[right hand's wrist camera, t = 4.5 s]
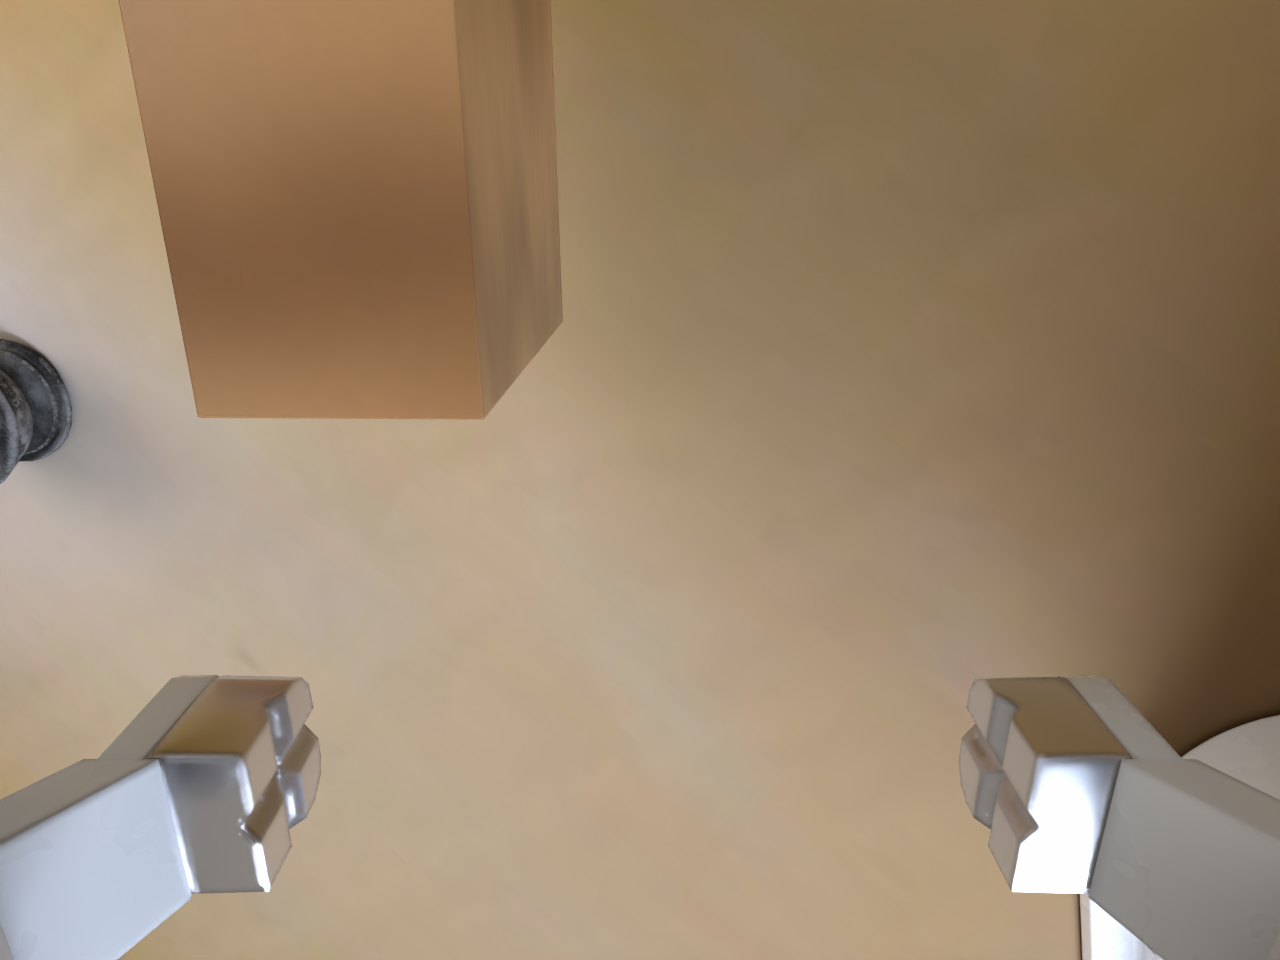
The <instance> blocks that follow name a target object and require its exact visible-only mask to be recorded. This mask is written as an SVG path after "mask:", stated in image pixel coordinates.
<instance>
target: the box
mask: <svg viewBox="0 0 1280 960" xmlns="http://www.w3.org/2000/svg"><path fill="white" fill-rule="evenodd" d="M119 4H120V10H121V15H122V20H123V25H124V31H125V36H126V41H127V46H128V52H129V57H130V62H131V67H132V73H133V78H134V83H135V88H136V94H137V99H138V104H139V109H140V115H141V120H142V125H143V130H144V136H145V141H146V146H147V151H148V157H149V162H150V167H151V173H152V178H153V183H154V188H155V194H156V199H157V204H158V209H159V215H160V220H161V225H162V230H163V236H164V241H165V246H166V251H167V257H168V262H169V267H170V272H171V278H172V283H173V288H174V293H175V299H176V304H177V309H178V314H179V320H180V325H181V330H182V335H183V341H184V346H185V351H186V356H187V362H188V367H189V372H190V377H191V383H192V388H193V393H194V398H195V404H196V409H197V414H198V417H200V418H319V419H484V418H485V417H486V416H487V414H488V413H489V412H490V411H491V409H492V408H493V407H494V406H495V405H496V403H497V402H498V401H499V400H500V398H501V397H502V396H503V395H504V393H505V392H506V391H507V390H508V388H509V387H510V386H511V385H512V383H513V382H514V381H515V380H516V378H517V377H518V376H519V375H520V373H521V372H522V371H523V370H524V369H525V367H526V366H527V365H528V364H529V362H530V361H531V360H532V359H533V357H534V356H535V355H536V354H537V352H538V351H539V350H540V349H541V347H542V346H543V345H544V344H545V342H546V341H547V340H548V339H549V337H550V336H551V335H552V334H553V333H554V331H555V330H556V329H557V328H558V326H559V325H560V324H561V323H562V321H563V315H562V288H561V262H560V236H559V209H558V183H557V156H556V130H555V103H554V77H553V51H552V24H551V0H119Z"/></svg>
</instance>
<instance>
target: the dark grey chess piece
mask: <svg viewBox="0 0 1280 960" xmlns="http://www.w3.org/2000/svg"><path fill="white" fill-rule="evenodd" d="M71 424H72V407H71V403H70V399H69V395H68V392H67V390H66V388H65V386H64V384H63V382H62V380H61V378H60V377H59V375H58V374H57V373H56V372H55V371H54V369H53V368H52V367H51V366H50V365H49V363H48V362H46V361H45V360H44V359H43V358H41V357H40V356H39V355H38V354H36V353H35V352H34V351H32V350H30V349H28V348H26V347H24V346H22V345H20V344H18V343H15V342H11V341H7V340H3V339H0V484H1V483H2V482H3V481H5V480H6V478H7V477H8V476H9V474H10V473H11V471H12V470H13V469H14V467H15V466H16V464H17V463H18V462H19V461H34V460H37V459H41V458H44V457H47V456H49V455H50V454H52V453H53V452H55V451H56V450H57V449H59V448H60V447H61V445H62V444H63V442H64V441H65V440H66V438H67V437H68V434H69V431H70V427H71Z"/></svg>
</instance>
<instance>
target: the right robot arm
mask: <svg viewBox="0 0 1280 960" xmlns="http://www.w3.org/2000/svg"><path fill="white" fill-rule="evenodd" d="M312 709H313V703H312V698H311V693H310V688H309V684H308V683H307V682H306V681H305V680H304V679H303V678H302V677H264V676H217V675H193V676H179V677H175V678H172V679H170V680H169V681H168V682H167V684H166V685H165V686H164V687H163V688H162V689H161V690H160V691H159V692H158V693H157V694H156V696H155V697H154V698H153V699H152V700H151V701H150V702H149V703H148V704H147V705H146V706H145V708H144V709H143V710H142V711H141V712H140V713H139V714H138V715H137V716H136V717H135V719H134V720H133V721H132V722H131V723H130V724H129V725H128V726H127V727H126V728H125V729H124V731H123V732H122V733H121V734H120V735H119V736H118V737H117V738H116V739H115V740H114V741H113V743H112V744H111V745H110V746H109V747H108V748H107V749H106V750H105V751H104V752H103V753H102V755H101V756H100V757H99V758H98V759H83V760H81V761H79V762H77V763H75V764H73V765H71V766H69V767H67V768H65V769H63V770H60V771H58V772H56V773H54V774H52V775H50V776H48V777H46V778H44V779H42V780H40V781H38V782H36V783H34V784H32V785H30V786H28V787H25V788H23V789H21V790H19V791H17V792H15V793H13V794H11V795H9V796H7V797H5V798H3V799H1V800H0V960H117V959H118V958H119V957H121V956H122V955H123V954H124V953H125V952H127V951H128V950H129V949H130V948H131V947H133V946H134V945H135V944H136V943H138V942H139V941H140V940H141V939H142V938H144V937H145V936H146V935H147V934H148V933H150V932H151V931H152V930H153V929H154V928H156V927H157V926H158V925H159V924H161V923H162V922H163V921H164V920H165V919H167V918H168V917H169V916H170V915H171V914H173V913H174V912H175V911H176V910H177V909H179V908H180V907H181V906H182V905H184V904H185V903H186V902H187V901H188V900H190V899H191V897H192V896H191V894H200V893H234V892H268V891H269V890H270V888H271V886H272V884H273V882H274V880H275V878H276V876H277V874H278V872H279V870H280V868H281V866H282V864H283V862H284V860H285V858H286V857H287V855H288V853H289V851H290V849H291V847H292V844H291V839H290V833H289V829H291V828H292V827H293V826H295V825H296V824H298V823H299V822H301V821H302V820H304V819H305V818H306V817H307V815H308V813H309V811H310V809H311V807H312V805H313V803H314V800H315V798H316V793H317V789H318V784H319V780H320V775H321V753H320V746H319V740H318V737H317V736H316V735H315V734H314V733H313V732H312V731H311V730H310V729H309V728H308V727H307V726H306V725H305V724H304V723H305V721H306V719H307V718H308V716H309V714H310V712H311V711H312ZM967 709H968V711H969V712H970V714H971V716H972V718H973V719H974V721H975V723H976V724H975V725H974V726H973V727H972V728H971V729H970V730H969V731H968V732H967V733H966V734H965V735H964V736H963V737H962V740H961V748H960V756H959V769H960V780H961V787H962V790H963V793H964V797H965V800H966V803H967V805H968V807H969V809H970V811H971V813H972V815H973V817H974V818H975V819H976V820H978V821H979V822H981V823H982V824H984V825H985V826H987V827H988V828H989V829H991V833H990V838H989V844H988V847H989V849H990V851H991V853H992V855H993V857H994V858H995V860H996V862H997V864H998V866H999V868H1000V870H1001V872H1002V874H1003V876H1004V878H1005V880H1006V882H1007V884H1008V886H1009V887H1010V889H1011V891H1012V892H1044V893H1080V911H1081V937H1082V960H1280V715H1276V716H1271V717H1267V718H1263V719H1259V720H1256V721H1252V722H1249V723H1246V724H1243V725H1240V726H1237V727H1235V728H1232V729H1230V730H1228V731H1225V732H1223V733H1221V734H1219V735H1217V736H1215V737H1213V738H1211V739H1209V740H1207V741H1205V742H1204V743H1202V744H1200V745H1199V746H1197V747H1195V748H1194V749H1192V750H1191V751H1189V752H1188V753H1186V754H1185V755H1184V756H1182V757H1180V756H1179V755H1178V754H1177V752H1176V751H1175V750H1174V749H1173V748H1172V747H1171V746H1170V745H1169V744H1168V743H1167V742H1166V740H1165V739H1164V738H1163V737H1162V736H1161V735H1160V734H1159V733H1158V732H1157V731H1156V729H1155V728H1154V727H1153V726H1152V725H1151V724H1150V723H1149V722H1148V721H1147V720H1146V719H1145V717H1144V716H1143V715H1142V714H1141V713H1140V712H1139V711H1138V710H1137V709H1136V708H1135V706H1134V705H1133V704H1132V703H1131V702H1130V701H1129V700H1128V699H1127V698H1126V697H1125V696H1124V694H1123V693H1122V692H1121V691H1120V690H1119V689H1118V688H1117V687H1116V686H1115V685H1114V684H1113V682H1112V681H1111V680H1110V679H1108V678H1105V677H1103V676H1101V675H1080V676H1058V677H1027V678H977V679H975V680H974V682H973V684H972V686H971V688H970V691H969V697H968V702H967Z"/></svg>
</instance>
